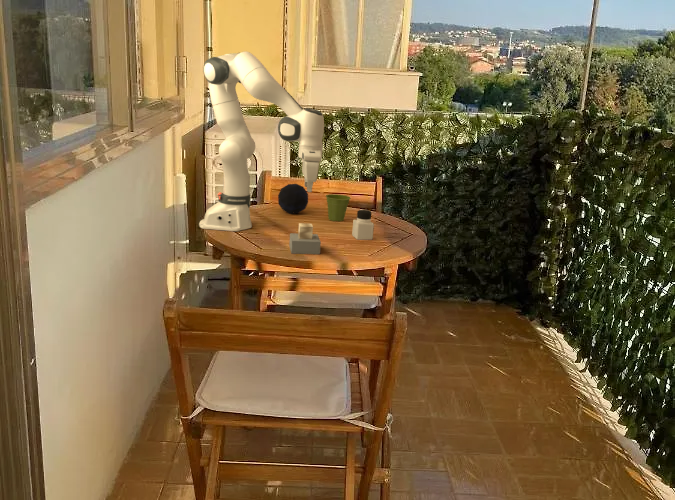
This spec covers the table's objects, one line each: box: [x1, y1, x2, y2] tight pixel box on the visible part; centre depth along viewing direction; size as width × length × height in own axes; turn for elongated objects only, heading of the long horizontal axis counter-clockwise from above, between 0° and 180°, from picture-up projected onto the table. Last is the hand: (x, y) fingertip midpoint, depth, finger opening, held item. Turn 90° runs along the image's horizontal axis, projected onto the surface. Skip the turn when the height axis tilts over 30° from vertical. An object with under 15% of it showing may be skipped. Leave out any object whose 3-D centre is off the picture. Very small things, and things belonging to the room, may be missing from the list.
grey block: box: [288, 232, 321, 255], centre depth 248 cm, size 11×11×5 cm
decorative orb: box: [277, 183, 309, 215], centre depth 306 cm, size 14×15×15 cm
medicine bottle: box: [351, 209, 375, 241], centre depth 271 cm, size 7×7×12 cm
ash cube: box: [297, 222, 314, 239], centre depth 247 cm, size 5×5×5 cm
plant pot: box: [325, 193, 352, 222], centre depth 299 cm, size 12×12×11 cm
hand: (308, 189), depth 243 cm, fingers open, 8 cm apart
